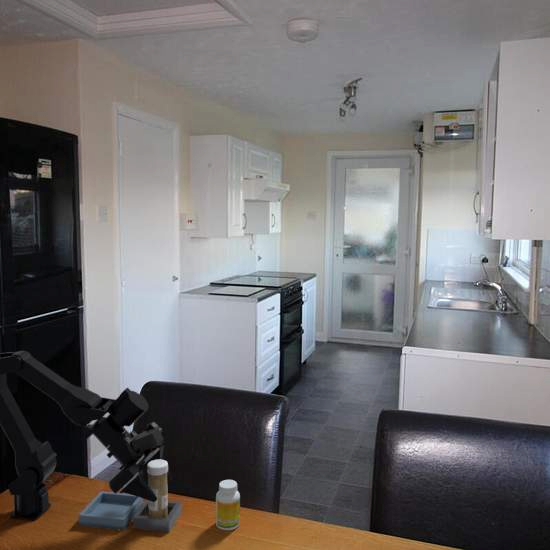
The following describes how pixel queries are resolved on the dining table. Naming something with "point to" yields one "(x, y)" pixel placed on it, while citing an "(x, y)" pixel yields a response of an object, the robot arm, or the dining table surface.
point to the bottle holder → (157, 523)
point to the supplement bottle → (227, 505)
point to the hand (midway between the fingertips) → (163, 490)
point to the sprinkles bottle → (158, 488)
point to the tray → (110, 510)
